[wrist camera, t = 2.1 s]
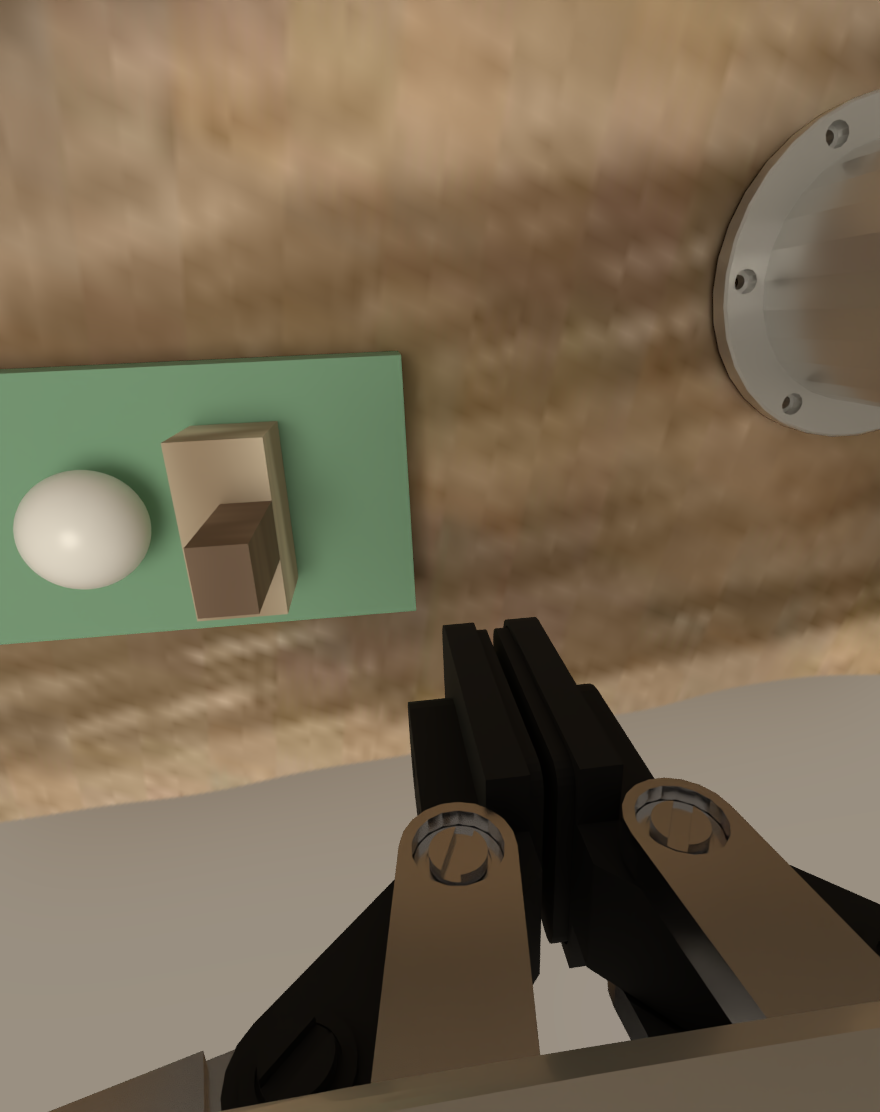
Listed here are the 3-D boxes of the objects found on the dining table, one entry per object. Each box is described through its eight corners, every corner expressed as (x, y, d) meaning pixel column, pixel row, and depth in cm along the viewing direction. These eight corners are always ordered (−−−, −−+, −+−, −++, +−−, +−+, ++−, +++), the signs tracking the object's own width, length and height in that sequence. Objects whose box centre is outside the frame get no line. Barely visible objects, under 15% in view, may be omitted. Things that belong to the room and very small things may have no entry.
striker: (277, 420, 22) (235, 466, 15) (298, 577, 24) (270, 678, 17) (190, 425, 21) (107, 474, 15) (219, 583, 24) (159, 687, 17)
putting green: (397, 350, 24) (401, 355, 22) (411, 581, 28) (416, 610, 25) (-383, 386, 22) (-493, 396, 19) (-257, 633, 26) (-333, 671, 23)
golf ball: (154, 455, 22) (109, 483, 18) (176, 559, 23) (139, 604, 20) (36, 461, 22) (-33, 491, 18) (66, 567, 23) (7, 614, 19)
